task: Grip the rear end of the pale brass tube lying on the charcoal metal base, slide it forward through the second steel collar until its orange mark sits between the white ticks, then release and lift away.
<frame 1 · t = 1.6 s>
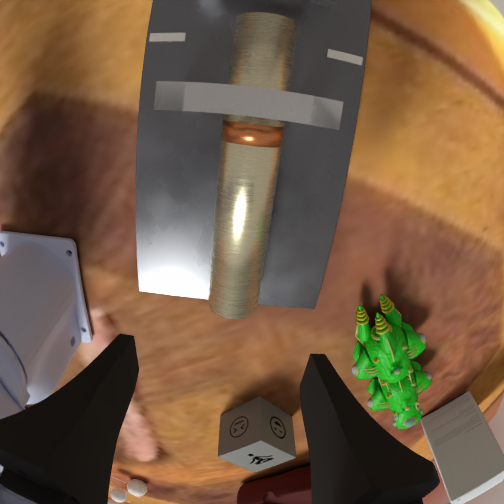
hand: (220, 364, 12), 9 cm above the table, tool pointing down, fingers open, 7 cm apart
dice cube: (256, 414, 29), on the table
crocodile figurine: (388, 358, 26), on the table
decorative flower: (85, 460, 37), on the table
ashtray: (293, 479, 38), on the table
supplement box: (446, 414, 31), on the table
collar base: (245, 127, 17), on the table
brass tube: (247, 172, 16), point 3 cm above the table, tilted 15°, touching collar base
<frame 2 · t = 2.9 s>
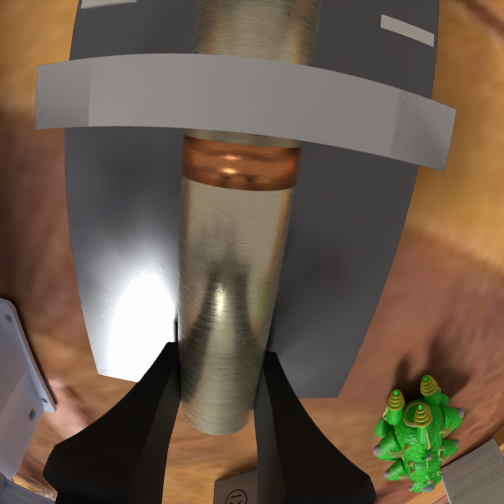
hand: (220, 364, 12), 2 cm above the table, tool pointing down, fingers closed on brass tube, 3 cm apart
dice cube: (256, 480, 22), on the table
crocodile figurine: (413, 426, 19), on the table
supplement box: (466, 459, 24), on the table
collar base: (240, 143, 10), on the table
brass tube: (232, 230, 9), point 3 cm above the table, touching collar base, gripper
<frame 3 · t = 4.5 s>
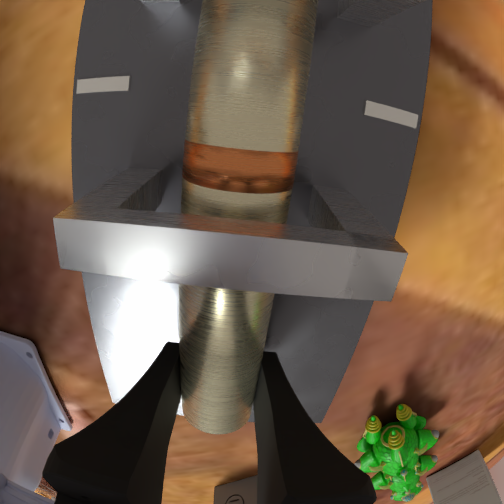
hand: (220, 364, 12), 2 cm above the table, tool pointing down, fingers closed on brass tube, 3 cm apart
dice cube: (253, 486, 23), on the table
crocodile figurine: (394, 442, 21), on the table
supplement box: (453, 468, 26), on the table
collar base: (232, 224, 12), on the table
brass tube: (232, 232, 9), point 3 cm above the table, touching gripper
when the fingers open (2 cm above the table, at t = 6.0 s): brass tube stays where it is, resting on collar base.
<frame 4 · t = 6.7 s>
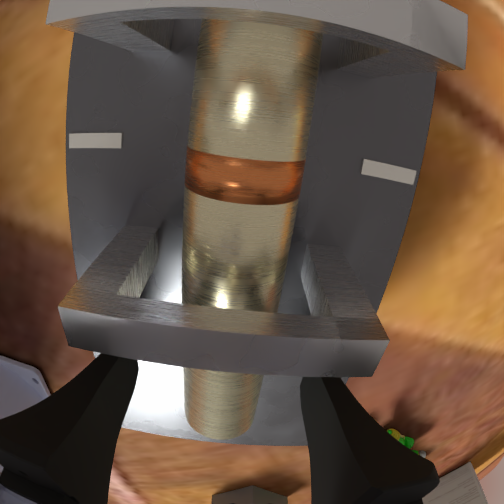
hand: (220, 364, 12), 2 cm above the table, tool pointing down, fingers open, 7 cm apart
dice cube: (249, 494, 24), on the table
supplement box: (446, 478, 27), on the table
collar base: (228, 275, 12), on the table
brass tube: (236, 241, 9), point 3 cm above the table, tilted 10°, touching collar base
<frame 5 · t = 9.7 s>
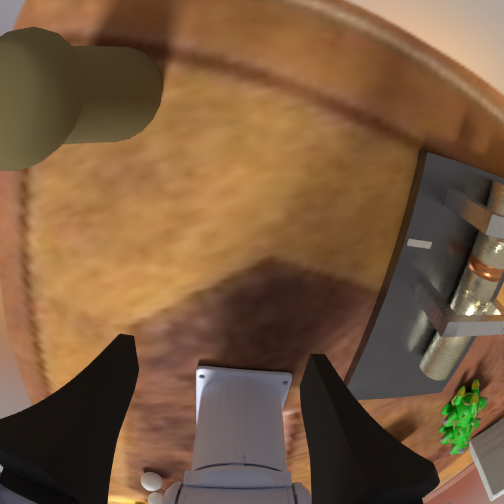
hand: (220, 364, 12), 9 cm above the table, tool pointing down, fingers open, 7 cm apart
cork: (116, 93, 16), on the table
crocodile figurine: (457, 410, 32), on the table
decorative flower: (199, 501, 43), on the table
supplement box: (485, 434, 37), on the table
collar base: (439, 300, 23), on the table
brass tube: (475, 290, 19), point 3 cm above the table, tilted 41°, touching collar base
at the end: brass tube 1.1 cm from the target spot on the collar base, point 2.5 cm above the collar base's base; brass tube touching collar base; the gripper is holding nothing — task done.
